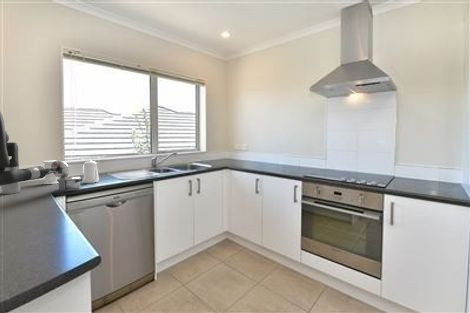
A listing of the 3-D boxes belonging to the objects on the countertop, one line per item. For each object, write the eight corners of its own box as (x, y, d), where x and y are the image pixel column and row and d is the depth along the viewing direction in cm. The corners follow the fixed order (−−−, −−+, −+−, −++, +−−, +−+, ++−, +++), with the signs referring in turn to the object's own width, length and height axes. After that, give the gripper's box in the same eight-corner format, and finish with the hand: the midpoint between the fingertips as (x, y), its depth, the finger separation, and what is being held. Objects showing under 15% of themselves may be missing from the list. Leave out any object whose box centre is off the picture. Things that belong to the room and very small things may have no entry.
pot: (72, 191, 161) (71, 179, 160) (50, 191, 162) (50, 179, 161) (87, 187, 174) (86, 176, 174) (67, 187, 176) (66, 176, 175)
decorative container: (61, 183, 189) (60, 161, 188) (43, 185, 183) (41, 161, 181) (62, 181, 199) (61, 160, 197) (45, 182, 193) (43, 160, 191)
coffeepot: (92, 184, 184) (91, 160, 182) (76, 181, 197) (75, 159, 195) (106, 182, 193) (105, 159, 191) (90, 179, 206) (89, 158, 205)
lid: (71, 178, 162) (69, 179, 160) (54, 178, 163) (52, 179, 161) (67, 160, 159) (65, 161, 157) (50, 160, 160) (47, 161, 158)
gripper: (43, 167, 140) (67, 163, 158) (23, 167, 142) (48, 163, 159) (44, 179, 141) (67, 175, 158) (24, 179, 142) (49, 174, 160)
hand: (58, 169), depth 159 cm, fingers closed
